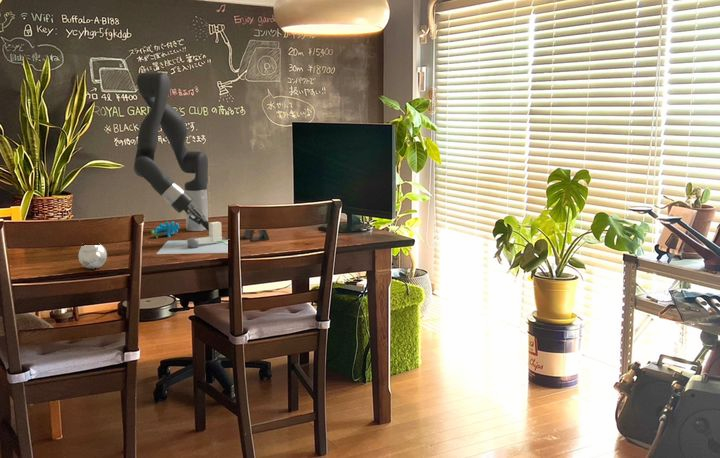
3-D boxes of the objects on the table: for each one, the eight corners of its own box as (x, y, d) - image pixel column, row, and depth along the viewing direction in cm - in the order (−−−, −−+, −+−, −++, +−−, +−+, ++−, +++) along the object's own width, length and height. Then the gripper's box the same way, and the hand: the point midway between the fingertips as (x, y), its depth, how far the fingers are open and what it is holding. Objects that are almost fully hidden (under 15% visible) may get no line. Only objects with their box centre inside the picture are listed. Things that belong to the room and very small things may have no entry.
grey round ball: (71, 270, 233) (69, 240, 232) (93, 264, 242) (91, 235, 240) (93, 273, 230) (91, 242, 228) (114, 267, 238) (112, 237, 237)
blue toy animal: (178, 232, 291) (178, 217, 283) (182, 243, 289) (182, 229, 281) (151, 237, 287) (150, 223, 279) (154, 249, 284) (154, 235, 276)
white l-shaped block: (191, 248, 261) (190, 227, 260) (185, 246, 264) (184, 226, 262) (227, 242, 272) (227, 221, 271) (221, 240, 275) (221, 220, 274)
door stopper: (247, 242, 280) (246, 211, 278) (242, 239, 285) (241, 209, 283) (269, 240, 284) (268, 210, 282) (264, 237, 289) (263, 208, 287)
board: (168, 243, 277) (167, 239, 277) (236, 242, 279) (235, 238, 279) (156, 257, 253) (155, 253, 252) (230, 256, 255) (230, 251, 255)
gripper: (181, 192, 261) (216, 225, 265) (186, 188, 274) (219, 219, 278) (167, 207, 262) (202, 239, 265) (173, 202, 275) (206, 233, 278)
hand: (211, 229), depth 271 cm, fingers closed
